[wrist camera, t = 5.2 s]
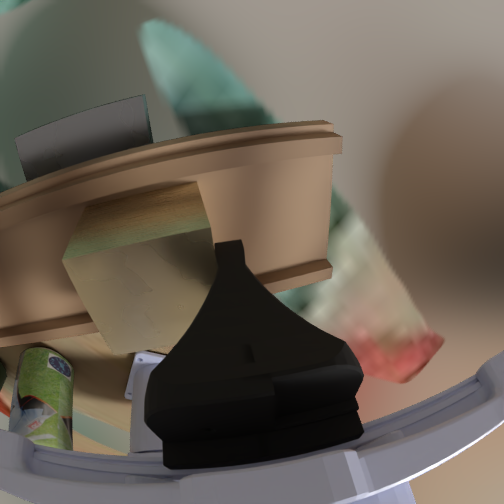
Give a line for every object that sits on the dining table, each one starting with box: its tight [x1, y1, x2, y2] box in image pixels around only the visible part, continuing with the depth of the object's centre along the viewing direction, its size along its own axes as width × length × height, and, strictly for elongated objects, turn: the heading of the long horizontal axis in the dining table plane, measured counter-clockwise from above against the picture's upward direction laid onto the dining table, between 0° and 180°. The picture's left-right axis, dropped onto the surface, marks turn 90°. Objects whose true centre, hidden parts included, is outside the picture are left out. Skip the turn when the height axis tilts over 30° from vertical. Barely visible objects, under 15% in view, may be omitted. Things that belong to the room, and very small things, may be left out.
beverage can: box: [9, 347, 74, 451], centre depth 18 cm, size 6×7×12 cm
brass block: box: [62, 181, 218, 355], centre depth 12 cm, size 5×5×4 cm
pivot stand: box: [15, 94, 153, 182], centre depth 15 cm, size 8×13×3 cm, turn 4°
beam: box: [0, 120, 342, 347], centre depth 13 cm, size 25×9×4 cm, turn 94°
